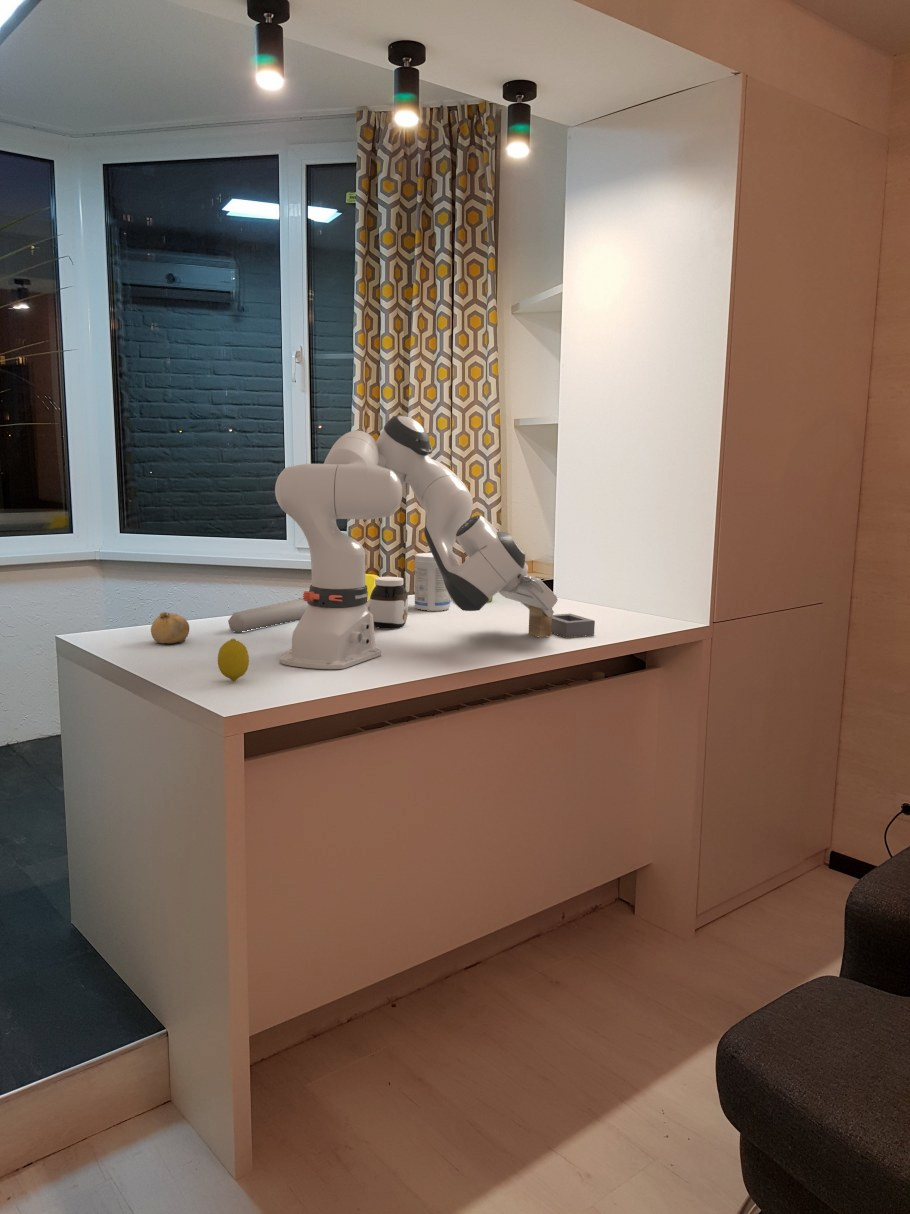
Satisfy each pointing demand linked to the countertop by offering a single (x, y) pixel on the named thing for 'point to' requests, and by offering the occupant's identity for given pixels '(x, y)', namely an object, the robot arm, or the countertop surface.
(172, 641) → the onion
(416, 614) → the countertop surface
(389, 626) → the spread jar
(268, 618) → the tube
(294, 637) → the robot arm
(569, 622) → the grey socket block
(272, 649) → the countertop surface
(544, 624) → the wooden block
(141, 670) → the countertop surface
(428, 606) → the supplement tub
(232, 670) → the lemon
